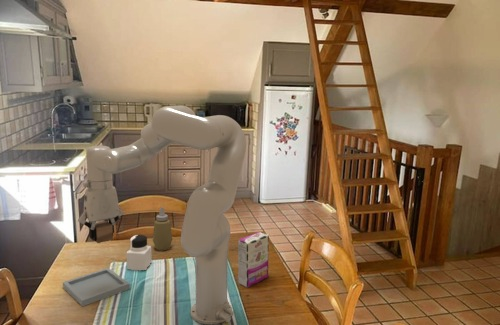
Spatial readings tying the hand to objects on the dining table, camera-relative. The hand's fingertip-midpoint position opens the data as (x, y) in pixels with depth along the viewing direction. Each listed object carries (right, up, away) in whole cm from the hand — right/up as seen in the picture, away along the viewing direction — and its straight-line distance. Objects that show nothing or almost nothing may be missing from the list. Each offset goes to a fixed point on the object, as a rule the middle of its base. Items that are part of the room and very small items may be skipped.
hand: (102, 237), depth 130 cm
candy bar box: (+50, -18, +11) cm, 54 cm away
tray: (-3, -18, +3) cm, 18 cm away
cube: (0, -1, 0) cm, 1 cm away
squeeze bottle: (+12, -12, +37) cm, 41 cm away
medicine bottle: (+7, -15, +20) cm, 26 cm away
